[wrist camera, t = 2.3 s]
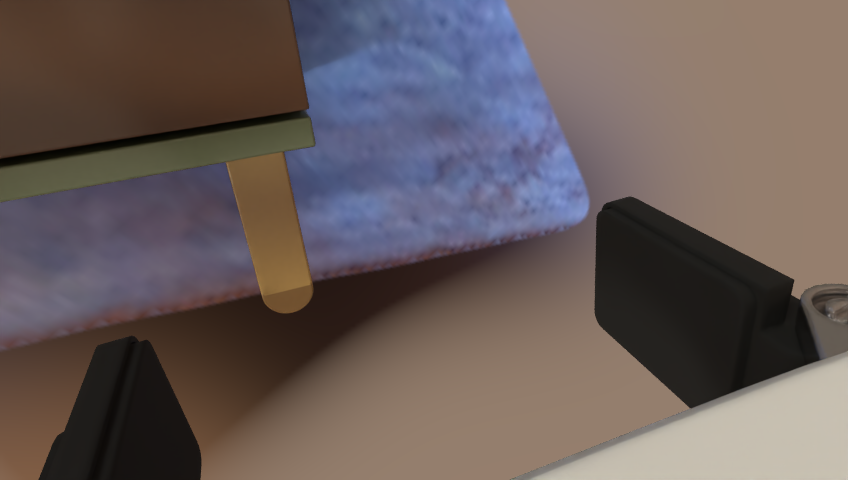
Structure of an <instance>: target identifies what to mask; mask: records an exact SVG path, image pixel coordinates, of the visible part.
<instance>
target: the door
mask: <svg viewBox="0 0 848 480" xmlns="http://www.w3.org/2000/svg"><path fill="white" fill-rule="evenodd" d="M315 144H316V143H315V138H314V132H313V127H312V122H311V118H310V116H309V115H308V113H307V112H306V110H301V111H295V112H289V113H283V114H276V115H270V116H264V117H258V118H252V119H245V120H239V121H233V122H227V123H220V124H214V125H208V126H202V127H195V128H189V129H183V130H177V131H170V132H164V133H158V134H152V135H145V136H139V137H133V138H127V139H121V140H114V141H108V142H102V143H96V144H89V145H83V146H77V147H71V148H64V149H58V150H52V151H46V152H39V153H33V154H27V155H21V156H14V157H8V158H2V159H0V202H5V201H10V200H16V199H22V198H27V197H33V196H38V195H44V194H50V193H55V192H61V191H66V190H72V189H78V188H83V187H89V186H94V185H100V184H106V183H111V182H117V181H123V180H128V179H134V178H139V177H145V176H151V175H156V174H162V173H167V172H173V171H179V170H184V169H190V168H195V167H201V166H207V165H212V164H218V163H224V162H226V166H227V170H228V173H229V177H230V181H231V184H232V188H233V192H234V195H235V199H236V203H237V206H238V210H239V214H240V217H241V221H242V225H243V228H244V232H245V236H246V240H247V243H248V247H249V251H250V254H251V258H252V262H253V265H254V269H255V273H256V276H257V280H258V284H259V287H260V291H261V295H262V298H263V301H264V303H265V304H266V305H267V306H268V307H269V308H270V309H272V310H274V311H276V312H279V313H292V312H296V311H298V310H300V309H302V308H303V307H305V306H306V304H308V302H309V301H310V299H311V297H312V295H313V284H312V279H311V274H310V269H309V265H308V260H307V256H306V251H305V246H304V242H303V237H302V233H301V228H300V223H299V219H298V214H297V210H296V205H295V200H294V196H293V191H292V186H291V182H290V177H289V173H288V168H287V163H286V159H285V154H284V152H285V151H291V150H297V149H302V148H308V147H313V146H315Z"/></svg>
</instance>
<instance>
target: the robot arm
mask: <svg viewBox="0 0 848 480" xmlns="http://www.w3.org/2000/svg"><path fill="white" fill-rule="evenodd" d="M596 226H597V227H596V268H595V271H596V272H595V316H596V319H597V321H598V323H599V325H600V326H601V327H602V328H603V329H604V330H605V331H606V332H607V333H608V334H609V335H610V336H612V337H613V338H614V339H615V340H616V341H617V342H618V343H619V344H620V345H621V346H623V347H624V348H625V349H626V350H627V351H628V352H629V353H630V354H631V355H632V356H634V357H635V358H636V359H637V360H638V361H639V362H640V363H641V364H642V365H643V366H644V367H646V368H647V369H648V370H649V371H650V372H651V373H652V374H653V375H654V376H656V377H657V378H658V379H659V380H660V381H661V382H662V383H663V384H665V386H667V387H668V388H669V389H670V390H671V391H672V392H673V393H674V394H675V395H676V396H677V397H679V398H680V399H681V400H682V401H683V402H684V403H685V404H686V405H687V406H688V407H690V408H691V409H689V410H686V411H683V412H681V413H678V414H676V415H673V416H671V417H668V418H665V419H663V420H660V421H658V422H655V423H653V424H650V425H647V426H645V427H642V428H640V429H637V430H635V431H632V432H629V433H627V434H624V435H622V436H619V437H617V438H614V439H612V440H609V441H607V442H604V443H602V444H599V445H596V446H594V447H591V448H589V449H586V450H584V451H581V452H579V453H576V454H574V455H571V456H568V457H566V458H563V459H561V460H558V461H556V462H553V463H551V464H548V465H546V466H543V467H541V468H538V469H536V470H533V471H531V472H528V473H525V474H523V475H520V476H518V477H515V478H513V479H510V480H848V285H844V284H823V285H816V286H813V287H811V288H808V289H806V290H805V291H804V293H803V294H802V295H801V298H800V300H799V299H797V298H795V297H794V296H792V295H791V292H792V288H793V283H794V279H792V278H790V277H788V276H786V275H784V274H782V273H780V272H778V271H776V270H774V269H772V268H770V267H768V266H766V265H764V264H762V263H760V262H758V261H756V260H755V259H753V258H751V257H749V256H747V255H745V254H743V253H741V252H739V251H737V250H735V249H733V248H731V247H729V246H727V245H725V244H723V243H721V242H720V241H718V240H716V239H714V238H712V237H710V236H708V235H706V234H704V233H702V232H700V231H698V230H696V229H694V228H692V227H690V226H689V225H686V224H684V223H683V222H681V221H679V220H677V219H675V218H673V217H671V216H669V215H667V214H665V213H663V212H661V211H659V210H657V209H655V208H653V207H651V206H650V205H648V204H646V203H644V202H642V201H640V200H638V199H636V198H634V197H626V198H622V199H619V200H615V201H612V202H609V203H606V204H605V205H604V206H603V208H602V211H600V212H599V213H598V215H597V225H596ZM200 478H201V453H200V449H199V445H198V443H197V440H196V438H195V436H194V434H193V432H192V430H191V428H190V425H189V424H188V421H187V419H186V417H185V415H184V413H183V411H182V408H181V406H180V404H179V402H178V400H177V398H176V396H175V394H174V391H173V389H172V387H171V385H170V383H169V381H168V379H167V377H166V374H165V372H164V370H163V368H162V366H161V364H160V362H159V360H158V357H157V355H156V353H155V351H154V349H153V347H152V345H151V343H150V342H149V341H148V340H144V341H141V342H139V341H138V340H137V338H135V337H134V336H129V337H126V338H122V339H119V340H115V341H112V342H108V343H104V344H101V345H98V346H97V347H96V349H95V352H94V355H93V357H92V360H91V362H90V365H89V368H88V370H87V373H86V376H85V378H84V381H83V383H82V386H81V389H80V391H79V394H78V397H77V399H76V402H75V405H74V407H73V410H72V412H71V415H70V418H69V420H68V423H67V425H66V428H65V431H64V432H62V433H61V434H59V435H58V436H57V437H56V439H55V441H54V443H53V444H52V447H51V450H50V452H49V455H48V457H47V460H46V463H45V465H44V467H43V470H42V472H41V475H40V478H39V480H200Z"/></svg>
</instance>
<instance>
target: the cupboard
mask: <svg viewBox="0 0 848 480" xmlns="http://www.w3.org/2000/svg"><path fill="white" fill-rule="evenodd" d="M307 109H309V103H308V98H307V93H306V87H305V82H304V76H303V71H302V66H301V60H300V55H299V50H298V44H297V39H296V34H295V28H294V23H293V18H292V12H291V7H290V1H289V0H0V159H2V158H8V157H14V156H21V155H27V154H33V153H39V152H46V151H52V150H58V149H64V148H71V147H77V146H83V145H89V144H96V143H102V142H108V141H114V140H121V139H127V138H133V137H139V136H145V135H152V134H158V133H164V132H170V131H177V130H183V129H189V128H195V127H202V126H208V125H214V124H220V123H227V122H233V121H239V120H245V119H252V118H258V117H264V116H270V115H276V114H283V113H289V112H295V111H301V110H307Z"/></svg>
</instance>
